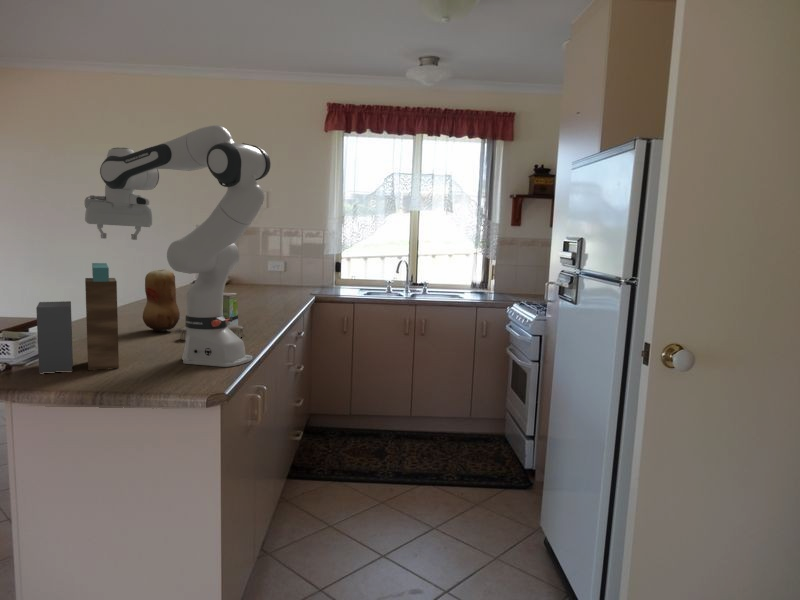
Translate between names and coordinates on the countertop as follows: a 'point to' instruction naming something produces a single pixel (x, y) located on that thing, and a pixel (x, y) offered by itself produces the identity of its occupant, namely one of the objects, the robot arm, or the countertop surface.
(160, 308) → the butternut squash
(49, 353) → the upright gray pillar
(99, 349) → the tall stand
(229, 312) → the tea box
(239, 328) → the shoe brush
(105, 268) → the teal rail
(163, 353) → the countertop surface
